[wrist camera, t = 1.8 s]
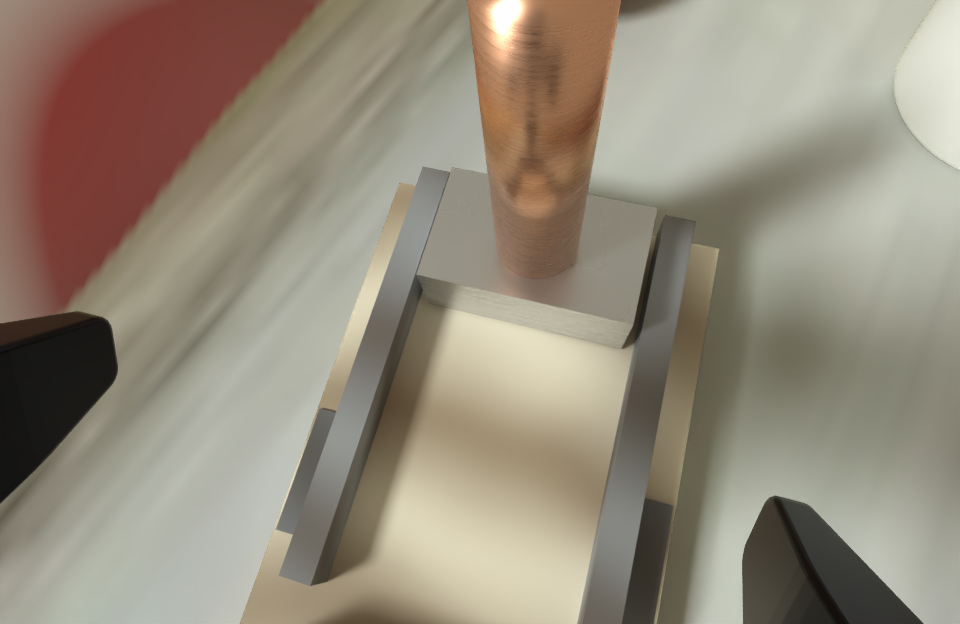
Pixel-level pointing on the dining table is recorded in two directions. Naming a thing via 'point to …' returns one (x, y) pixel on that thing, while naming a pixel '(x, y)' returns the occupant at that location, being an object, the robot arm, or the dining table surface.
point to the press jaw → (540, 182)
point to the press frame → (489, 454)
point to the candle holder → (933, 82)
